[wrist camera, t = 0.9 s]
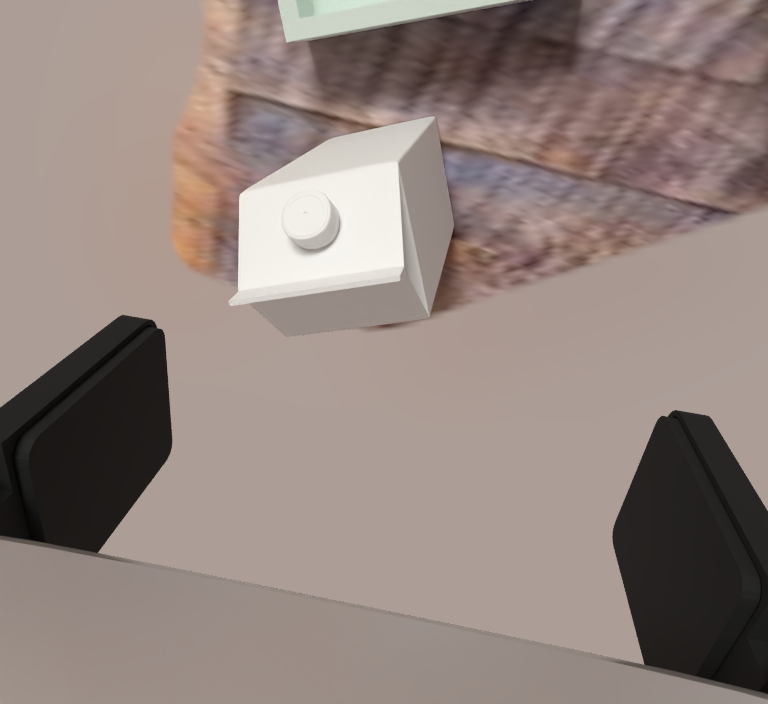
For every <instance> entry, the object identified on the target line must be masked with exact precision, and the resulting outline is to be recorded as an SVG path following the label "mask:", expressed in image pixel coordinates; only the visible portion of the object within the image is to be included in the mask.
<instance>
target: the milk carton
mask: <svg viewBox="0 0 768 704" xmlns="http://www.w3.org/2000/svg"><path fill="white" fill-rule="evenodd" d="M453 229H454V220H453V214H452V209H451V203H450V197H449V191H448V185H447V179H446V174H445V168H444V162H443V156H442V150H441V145H440V139H439V133H438V127H437V121H436V117H435V116H432V117H426V118H421V119H417V120H412V121H407V122H403V123H398V124H394V125H389V126H385V127H380V128H375V129H371V130H366V131H362V132H357V133H353V134H348V135H343V136H339V137H335V138H331V139H329V140H327V141H326V142H324V143H322V144H321V145H319V146H317V147H316V148H314V149H312V150H311V151H309V152H307V153H306V154H304V155H302V156H301V157H299V158H297V159H296V160H294V161H292V162H291V163H289V164H287V165H286V166H284V167H282V168H281V169H279V170H277V171H276V172H274V173H272V174H271V175H269V176H268V177H266V178H264V179H263V180H261V181H259V182H258V183H256V184H254V185H253V186H251V187H249V188H248V189H246V190H245V191H244V192H242V193H241V194H240V197H239V267H238V293H237V294H236V295H235V296H234V297H233V298H232V299H230V300H229V305H230V306H233V305H240V304H247V303H249V304H250V305H251V306H252V307H253V308H254V309H256V310H257V311H258V312H259V313H260V314H261V315H262V316H263V317H265V318H266V319H267V320H268V321H269V322H270V323H271V324H272V325H274V326H275V327H276V328H277V329H278V330H279V331H280V332H281V333H283V334H284V335H285V336H297V335H306V334H313V333H321V332H329V331H336V330H345V329H353V328H360V327H368V326H376V325H384V324H392V323H399V322H407V321H415V320H422V319H428V318H430V313H431V310H432V306H433V302H434V299H435V295H436V291H437V288H438V284H439V280H440V277H441V273H442V269H443V266H444V262H445V258H446V255H447V251H448V247H449V244H450V240H451V236H452V233H453Z"/></svg>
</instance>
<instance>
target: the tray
mask: <svg viewBox="0 0 768 704" xmlns="http://www.w3.org/2000/svg"><path fill="white" fill-rule="evenodd" d="M525 1H531V0H278V4H279V8H280V13H281V18H282V23H283V28H284V33H285V38H286V42H303V41H312V40H317V39H323V38H328V37H334V36H339V35H345V34H350V33H356V32H361V31H367V30H372V29H378V28H383V27H388V26H394V25H399V24H405V23H410V22H416V21H421V20H427V19H432V18H438V17H443V16H449V15H454V14H460V13H465V12H470V11H476V10H481V9H487V8H492V7H498V6H503V5H509V4H514V3H520V2H525Z"/></svg>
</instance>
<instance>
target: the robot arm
mask: <svg viewBox="0 0 768 704" xmlns="http://www.w3.org/2000/svg"><path fill="white" fill-rule="evenodd" d="M171 448H172V430H171V418H170V403H169V388H168V375H167V360H166V347H165V335H164V332H163V330H161V329H158V328H157V326H156V324H155V322H154V321H153V320H148V319H143V318H137V317H132V316H126V315H122V316H120V317H118V318H117V319H115V320H114V321H113V322H111V323H110V324H109V325H108V326H106V327H105V328H104V329H102V330H101V331H100V332H98V333H97V334H96V335H95V336H93V337H92V338H90V339H89V340H88V341H87V342H85V343H84V344H83V345H81V346H80V347H79V348H78V349H76V350H75V351H74V352H72V353H71V354H70V355H68V356H67V357H66V358H64V359H63V360H62V361H61V362H59V363H58V364H57V365H56V366H54V367H53V368H51V369H50V370H49V371H47V372H46V373H45V374H44V375H43V376H41V377H40V378H38V379H37V380H36V381H35V382H33V383H32V384H31V385H29V386H28V387H27V388H25V389H24V390H23V391H21V392H20V393H19V394H18V395H16V396H15V397H14V398H12V399H11V400H10V401H8V402H7V403H6V404H5V405H3V406H2V407H1V408H0V704H768V511H767V509H766V508H765V506H764V504H763V503H762V501H761V499H760V498H759V496H758V495H757V493H756V491H755V490H754V488H753V486H752V485H751V483H750V482H749V480H748V478H747V476H746V475H745V473H744V471H743V470H742V468H741V467H740V465H739V463H738V462H737V460H736V458H735V457H734V455H733V453H732V452H731V450H730V449H729V447H728V445H727V443H726V442H725V440H724V439H723V437H722V435H721V434H720V432H719V430H718V429H717V427H716V425H715V424H714V422H713V420H712V419H711V418H710V417H709V416H706V415H700V414H694V413H689V412H683V411H677V410H675V411H672V412H671V413H670V414H669V416H668V417H665V416H661V417H660V418H659V419H658V420H657V422H656V424H655V427H654V429H653V432H652V434H651V437H650V439H649V442H648V444H647V446H646V449H645V451H644V454H643V456H642V459H641V461H640V463H639V466H638V469H637V471H636V473H635V476H634V478H633V480H632V483H631V485H630V488H629V490H628V493H627V495H626V498H625V500H624V502H623V505H622V507H621V510H620V512H619V514H618V517H617V519H616V522H615V525H614V528H613V546H614V549H615V553H616V557H617V561H618V565H619V569H620V573H621V576H622V580H623V584H624V588H625V592H626V595H627V599H628V603H629V607H630V611H631V614H632V618H633V622H634V626H635V629H636V634H637V637H638V641H639V645H640V649H641V653H642V656H643V660H644V664H645V665H642V664H638V663H633V662H629V661H624V660H620V659H615V658H610V657H606V656H602V655H597V654H592V653H587V652H583V651H578V650H573V649H568V648H564V647H558V646H554V645H549V644H544V643H540V642H535V641H530V640H525V639H521V638H516V637H511V636H506V635H501V634H497V633H492V632H487V631H482V630H477V629H473V628H468V627H463V626H458V625H453V624H449V623H444V622H439V621H434V620H429V619H424V618H419V617H415V616H410V615H404V614H400V613H395V612H390V611H385V610H380V609H375V608H370V607H365V606H361V605H355V604H351V603H346V602H341V601H336V600H331V599H326V598H321V597H316V596H311V595H306V594H302V593H296V592H292V591H286V590H282V589H277V588H272V587H267V586H262V585H257V584H252V583H247V582H241V581H237V580H232V579H227V578H222V577H217V576H212V575H206V574H201V573H196V572H191V571H186V570H181V569H176V568H171V567H166V566H161V565H156V564H151V563H145V562H140V561H135V560H130V559H125V558H120V557H115V556H110V555H105V554H100V553H98V552H99V550H100V549H101V548H102V546H103V545H104V544H105V542H106V541H107V539H108V538H109V537H110V536H111V534H112V533H113V532H114V530H115V529H116V527H117V526H118V524H119V523H120V522H121V521H122V519H123V518H124V517H125V515H126V514H127V513H128V511H129V510H130V509H131V507H132V506H133V505H134V503H135V502H136V501H137V499H138V498H139V497H140V495H141V494H142V493H143V491H144V490H145V488H146V487H147V486H148V485H149V483H150V482H151V481H152V479H153V478H154V477H155V475H156V474H157V472H158V471H159V470H160V468H161V467H162V465H163V464H164V463H165V462H166V460H167V458H168V456H169V454H170V452H171Z"/></svg>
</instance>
